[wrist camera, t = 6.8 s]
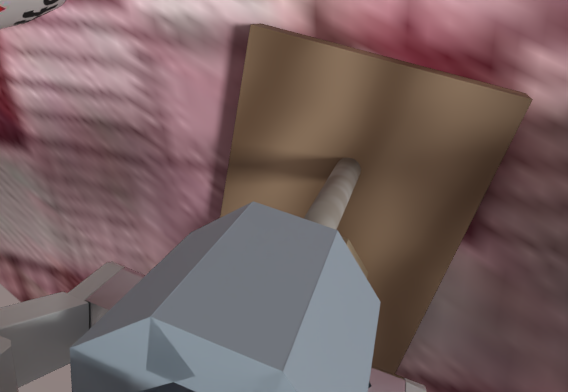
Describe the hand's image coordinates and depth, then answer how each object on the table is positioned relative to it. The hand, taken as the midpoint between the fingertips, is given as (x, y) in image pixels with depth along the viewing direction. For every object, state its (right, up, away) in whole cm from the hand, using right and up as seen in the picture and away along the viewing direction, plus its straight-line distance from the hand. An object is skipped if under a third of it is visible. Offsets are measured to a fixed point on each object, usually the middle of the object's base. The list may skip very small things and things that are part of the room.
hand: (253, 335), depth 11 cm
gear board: (+4, +2, +15) cm, 15 cm away
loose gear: (+1, +1, +1) cm, 2 cm away
